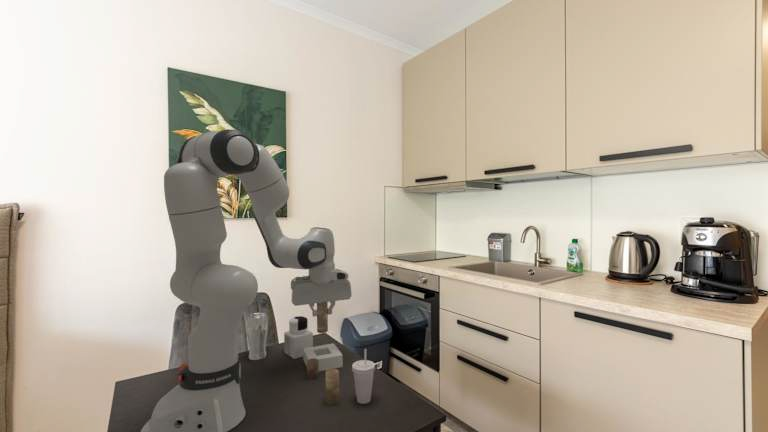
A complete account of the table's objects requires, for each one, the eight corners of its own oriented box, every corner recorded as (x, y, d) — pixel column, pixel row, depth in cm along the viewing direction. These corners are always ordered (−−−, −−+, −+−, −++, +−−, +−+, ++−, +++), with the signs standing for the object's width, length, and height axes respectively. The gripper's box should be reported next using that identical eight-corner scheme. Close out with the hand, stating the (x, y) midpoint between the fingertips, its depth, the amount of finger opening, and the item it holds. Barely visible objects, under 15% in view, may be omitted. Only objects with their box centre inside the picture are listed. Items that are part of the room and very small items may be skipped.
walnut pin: (308, 380, 103) (308, 364, 103) (305, 375, 106) (305, 359, 106) (319, 378, 104) (319, 362, 104) (317, 373, 107) (317, 357, 107)
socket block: (309, 373, 107) (309, 361, 107) (303, 359, 117) (303, 348, 117) (342, 366, 112) (342, 354, 112) (333, 354, 122) (333, 343, 122)
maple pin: (318, 333, 112) (318, 298, 112) (316, 330, 115) (315, 295, 115) (329, 332, 114) (328, 296, 113) (326, 328, 117) (325, 294, 117)
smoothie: (372, 407, 88) (372, 354, 88) (349, 405, 89) (348, 353, 89) (377, 394, 94) (377, 345, 94) (355, 392, 95) (355, 343, 95)
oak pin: (327, 406, 89) (327, 376, 89) (324, 399, 92) (324, 370, 92) (340, 403, 90) (340, 373, 90) (337, 396, 94) (336, 367, 94)
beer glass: (255, 362, 115) (254, 319, 115) (243, 358, 119) (242, 316, 119) (271, 355, 121) (271, 314, 121) (259, 351, 125) (259, 311, 125)
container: (302, 347, 128) (302, 313, 128) (313, 353, 123) (313, 318, 123) (284, 353, 123) (283, 317, 123) (294, 359, 117) (293, 322, 117)
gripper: (292, 279, 107) (292, 322, 107) (352, 273, 115) (353, 313, 116) (289, 275, 113) (289, 316, 113) (347, 270, 121) (347, 308, 121)
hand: (322, 314), depth 114 cm, fingers closed on maple pin, 4 cm apart
